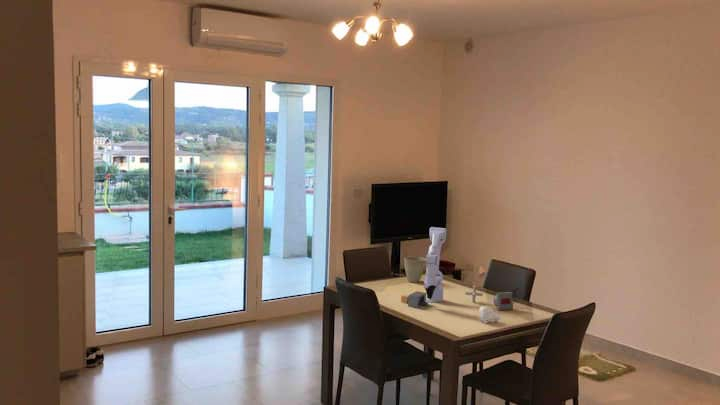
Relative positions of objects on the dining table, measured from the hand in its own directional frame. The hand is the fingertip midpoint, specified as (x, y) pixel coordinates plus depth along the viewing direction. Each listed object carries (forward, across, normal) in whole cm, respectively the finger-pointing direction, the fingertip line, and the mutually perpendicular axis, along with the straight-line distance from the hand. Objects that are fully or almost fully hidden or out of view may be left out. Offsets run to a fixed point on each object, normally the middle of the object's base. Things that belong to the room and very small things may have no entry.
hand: (429, 298), depth 349 cm
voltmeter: (+6, -32, +38) cm, 50 cm away
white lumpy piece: (+5, +7, +38) cm, 39 cm away
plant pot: (+6, -56, -34) cm, 66 cm away
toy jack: (+6, -29, +17) cm, 34 cm away
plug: (+5, -1, -9) cm, 11 cm away
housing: (+5, 0, -8) cm, 9 cm away
